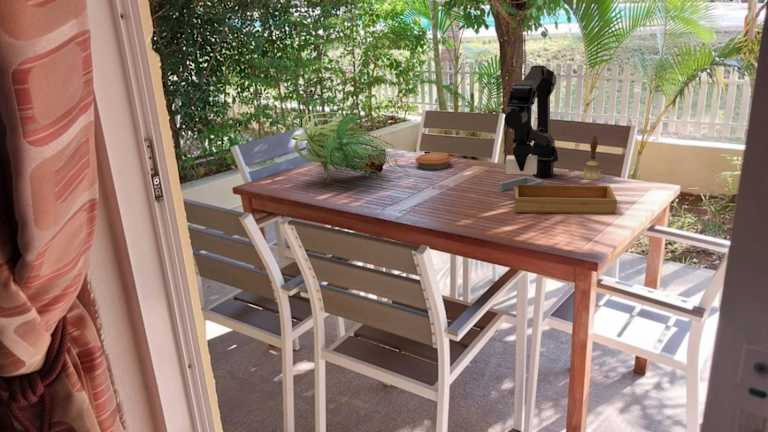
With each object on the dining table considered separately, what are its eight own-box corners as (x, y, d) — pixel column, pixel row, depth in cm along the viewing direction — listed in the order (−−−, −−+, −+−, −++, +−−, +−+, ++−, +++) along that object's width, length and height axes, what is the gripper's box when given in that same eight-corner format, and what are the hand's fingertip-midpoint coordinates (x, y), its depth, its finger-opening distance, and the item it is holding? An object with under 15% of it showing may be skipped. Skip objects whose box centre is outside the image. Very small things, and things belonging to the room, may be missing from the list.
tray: (608, 200, 202) (609, 184, 200) (615, 215, 188) (616, 198, 186) (514, 199, 208) (515, 184, 206) (514, 214, 194) (515, 197, 193)
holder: (526, 183, 224) (526, 176, 223) (543, 189, 217) (543, 181, 216) (499, 190, 218) (499, 182, 217) (515, 196, 210) (515, 188, 209)
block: (536, 170, 204) (537, 155, 203) (536, 174, 200) (536, 159, 198) (507, 169, 207) (507, 155, 205) (505, 173, 203) (505, 159, 201)
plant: (416, 166, 226) (322, 131, 206) (368, 221, 247) (278, 194, 227) (402, 105, 248) (315, 69, 228) (358, 161, 269) (275, 131, 249)
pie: (454, 162, 260) (454, 150, 259) (449, 171, 246) (449, 159, 244) (418, 162, 264) (418, 150, 262) (412, 171, 250) (411, 159, 248)
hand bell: (606, 175, 228) (609, 134, 222) (598, 181, 222) (600, 138, 216) (585, 172, 233) (587, 132, 228) (576, 178, 227) (578, 136, 222)
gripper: (549, 128, 188) (548, 176, 193) (546, 116, 205) (544, 161, 210) (513, 128, 190) (512, 176, 195) (512, 117, 207) (512, 161, 212)
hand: (521, 168), depth 203 cm, fingers closed on block, 5 cm apart
